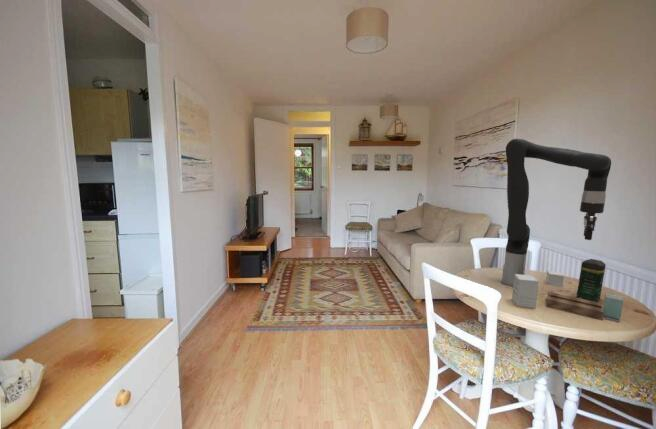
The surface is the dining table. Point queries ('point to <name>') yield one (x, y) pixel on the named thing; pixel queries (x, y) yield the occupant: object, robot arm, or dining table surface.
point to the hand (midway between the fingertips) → (587, 238)
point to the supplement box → (525, 290)
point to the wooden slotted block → (575, 305)
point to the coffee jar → (591, 279)
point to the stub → (613, 306)
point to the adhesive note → (554, 278)
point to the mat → (611, 318)
